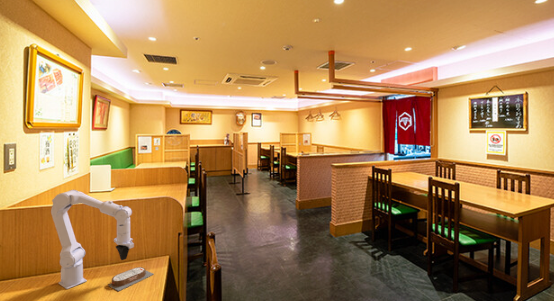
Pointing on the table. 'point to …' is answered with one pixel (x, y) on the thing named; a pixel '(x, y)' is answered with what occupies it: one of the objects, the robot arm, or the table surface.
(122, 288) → the slate mat
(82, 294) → the table surface
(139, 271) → the tin
